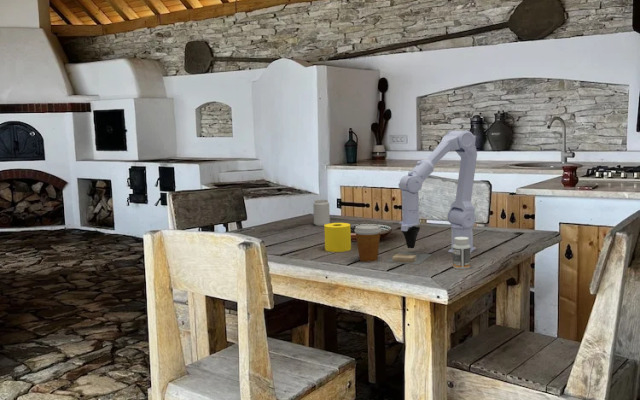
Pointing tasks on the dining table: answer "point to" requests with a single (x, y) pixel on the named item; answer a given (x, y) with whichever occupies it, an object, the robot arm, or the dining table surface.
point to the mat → (419, 260)
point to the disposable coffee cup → (368, 241)
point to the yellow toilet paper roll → (337, 237)
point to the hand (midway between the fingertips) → (410, 247)
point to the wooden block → (404, 258)
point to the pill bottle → (461, 253)
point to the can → (321, 212)
